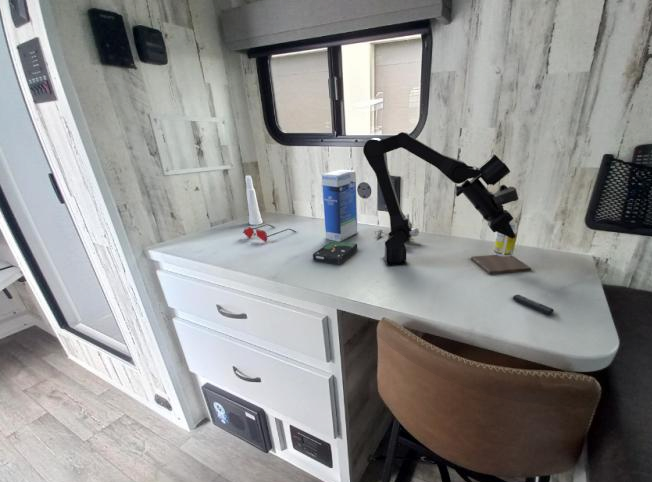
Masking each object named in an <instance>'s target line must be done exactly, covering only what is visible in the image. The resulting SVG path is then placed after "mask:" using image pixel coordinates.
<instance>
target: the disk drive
mask: <svg viewBox="0 0 652 482" xmlns="http://www.w3.org/2000/svg"><path fill="white" fill-rule="evenodd" d="M357 251H358V243H355V242H349V241H341V242H338V241H334V240H331V241H330V242H328V243H327V244H325V245H324V246H323V247H321V248H319V249H318V250H316V251H315V252H313V253H312V261H315V262H320V263H326V264H332V265H341V264H342V263H344V262H345V261H346V260H347V259H348V258H350V257H351V256H352V255H353V254H354V253H356V252H357Z"/></svg>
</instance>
